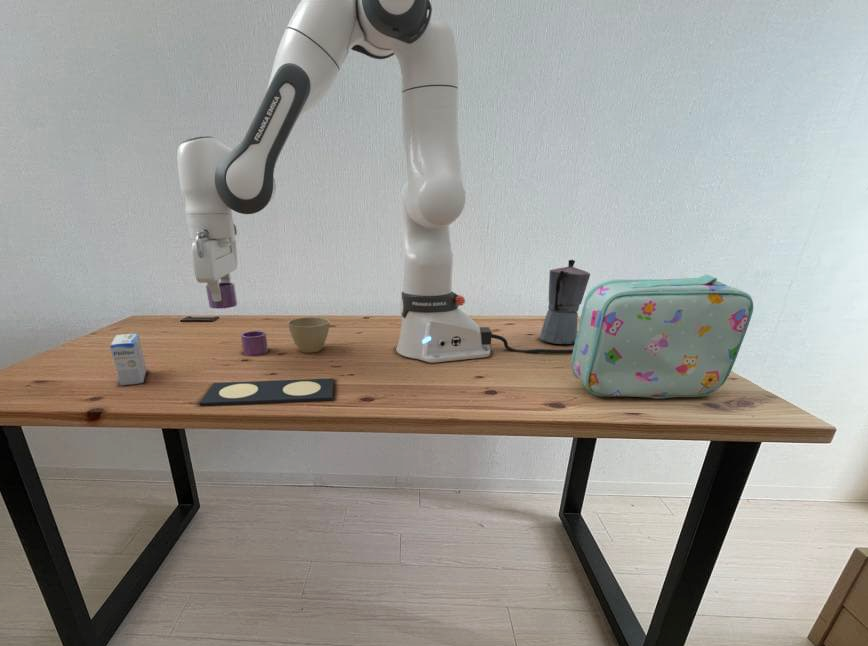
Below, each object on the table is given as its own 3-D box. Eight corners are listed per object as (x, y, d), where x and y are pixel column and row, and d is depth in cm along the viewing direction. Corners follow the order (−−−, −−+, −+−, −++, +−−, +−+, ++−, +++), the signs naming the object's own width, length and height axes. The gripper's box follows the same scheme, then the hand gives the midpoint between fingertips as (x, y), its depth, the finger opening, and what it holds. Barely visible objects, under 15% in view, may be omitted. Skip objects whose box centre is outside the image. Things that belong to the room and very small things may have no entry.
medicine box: (124, 373, 98) (115, 334, 95) (147, 371, 100) (138, 332, 96) (120, 386, 92) (109, 344, 88) (144, 383, 93) (134, 342, 90)
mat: (333, 380, 93) (333, 377, 93) (332, 400, 84) (332, 396, 84) (214, 385, 92) (213, 382, 91) (199, 405, 82) (199, 402, 82)
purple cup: (269, 348, 115) (267, 330, 113) (265, 355, 109) (263, 336, 108) (246, 348, 114) (243, 331, 112) (241, 355, 109) (238, 337, 107)
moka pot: (583, 336, 120) (597, 258, 112) (571, 352, 108) (585, 265, 100) (546, 332, 125) (557, 256, 117) (530, 346, 113) (541, 262, 105)
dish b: (239, 302, 102) (236, 282, 100) (233, 308, 96) (230, 286, 95) (213, 303, 101) (210, 282, 100) (206, 309, 96) (202, 287, 94)
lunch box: (696, 380, 91) (729, 269, 82) (733, 400, 81) (774, 278, 73) (563, 381, 91) (581, 271, 82) (584, 402, 82) (607, 280, 73)
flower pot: (313, 358, 106) (311, 328, 103) (281, 352, 111) (278, 323, 108) (339, 347, 114) (337, 319, 111) (308, 342, 119) (306, 315, 116)
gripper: (213, 231, 83) (225, 307, 89) (238, 226, 102) (246, 289, 108) (178, 232, 83) (192, 308, 89) (209, 227, 102) (219, 289, 107)
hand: (222, 297), depth 98 cm, fingers closed on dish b, 6 cm apart
